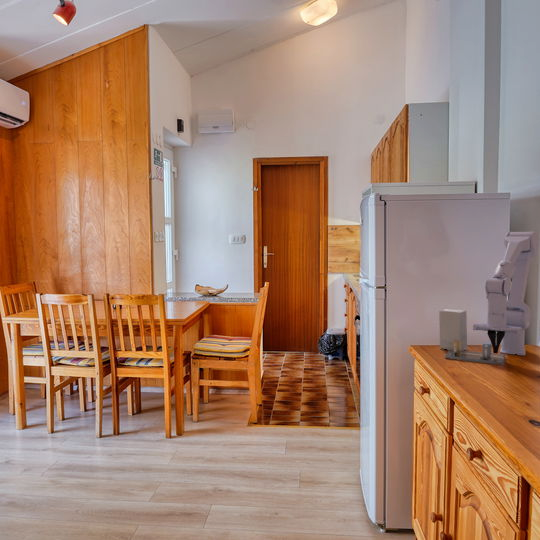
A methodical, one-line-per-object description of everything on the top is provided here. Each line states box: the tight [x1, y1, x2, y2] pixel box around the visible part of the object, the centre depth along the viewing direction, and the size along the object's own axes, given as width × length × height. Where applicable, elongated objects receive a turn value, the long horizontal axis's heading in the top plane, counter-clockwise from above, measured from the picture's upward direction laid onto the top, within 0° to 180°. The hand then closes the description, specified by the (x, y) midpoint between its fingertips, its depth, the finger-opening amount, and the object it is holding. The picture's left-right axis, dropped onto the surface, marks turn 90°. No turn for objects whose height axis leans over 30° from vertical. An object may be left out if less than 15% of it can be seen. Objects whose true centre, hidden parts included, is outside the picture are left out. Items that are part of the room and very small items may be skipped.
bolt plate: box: [444, 340, 506, 366], centre depth 158 cm, size 11×18×5 cm, turn 60°
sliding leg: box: [482, 341, 492, 357], centre depth 156 cm, size 7×2×4 cm, turn 150°
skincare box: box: [438, 308, 468, 351], centre depth 171 cm, size 8×6×15 cm
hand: (495, 352), depth 156 cm, fingers closed
